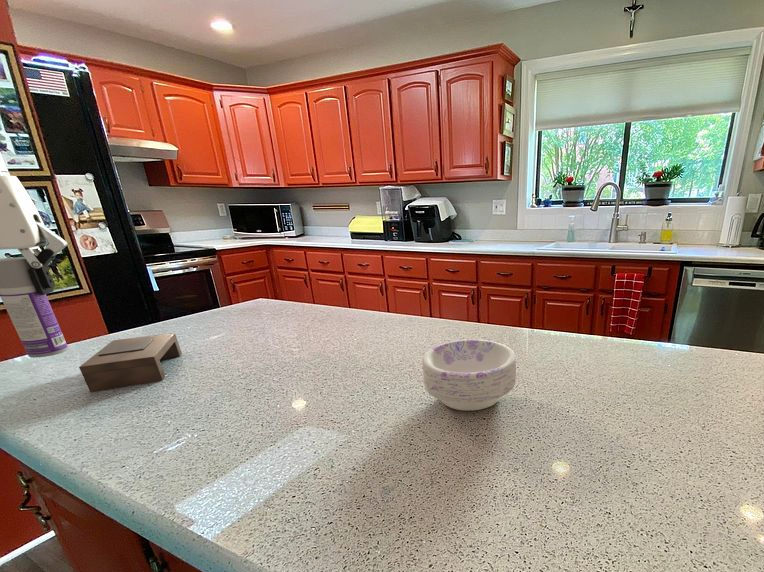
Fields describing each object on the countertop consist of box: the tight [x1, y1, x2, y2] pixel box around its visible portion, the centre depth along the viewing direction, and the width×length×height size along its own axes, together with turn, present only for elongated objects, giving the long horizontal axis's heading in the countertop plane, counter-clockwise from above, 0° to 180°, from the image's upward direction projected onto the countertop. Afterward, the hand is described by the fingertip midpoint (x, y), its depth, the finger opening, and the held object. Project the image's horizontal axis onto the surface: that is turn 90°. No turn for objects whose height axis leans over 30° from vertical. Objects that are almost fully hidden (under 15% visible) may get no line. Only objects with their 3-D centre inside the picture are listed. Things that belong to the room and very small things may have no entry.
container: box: [0, 256, 69, 359], centre depth 62 cm, size 5×5×15 cm
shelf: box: [78, 332, 183, 393], centre depth 80 cm, size 11×16×5 cm
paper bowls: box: [421, 339, 517, 412], centre depth 65 cm, size 15×15×8 cm
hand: (23, 293), depth 61 cm, fingers closed on container, 4 cm apart
